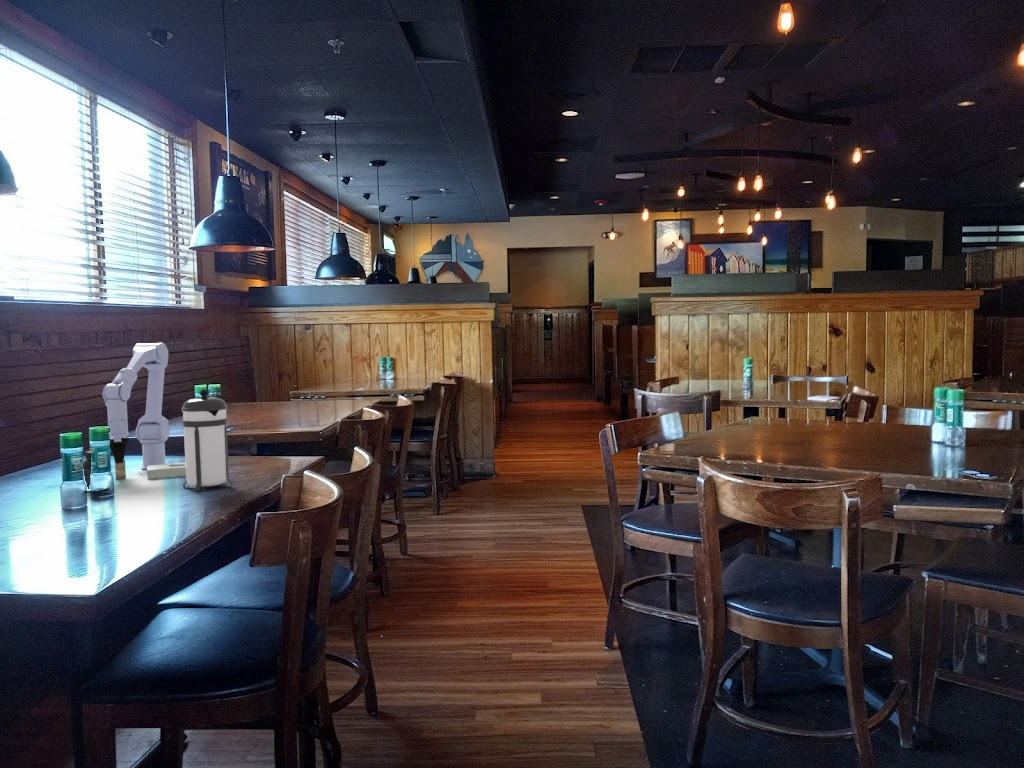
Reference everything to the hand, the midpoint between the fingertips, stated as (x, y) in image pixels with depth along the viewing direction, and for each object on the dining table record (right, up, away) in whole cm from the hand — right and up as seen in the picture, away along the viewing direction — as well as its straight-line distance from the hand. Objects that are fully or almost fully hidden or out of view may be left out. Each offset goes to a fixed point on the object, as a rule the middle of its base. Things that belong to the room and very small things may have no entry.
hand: (119, 461), depth 247 cm
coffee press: (+35, -6, -17) cm, 40 cm away
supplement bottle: (+2, -7, -18) cm, 20 cm away
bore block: (+16, -5, +6) cm, 18 cm away
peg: (0, -6, 0) cm, 6 cm away
